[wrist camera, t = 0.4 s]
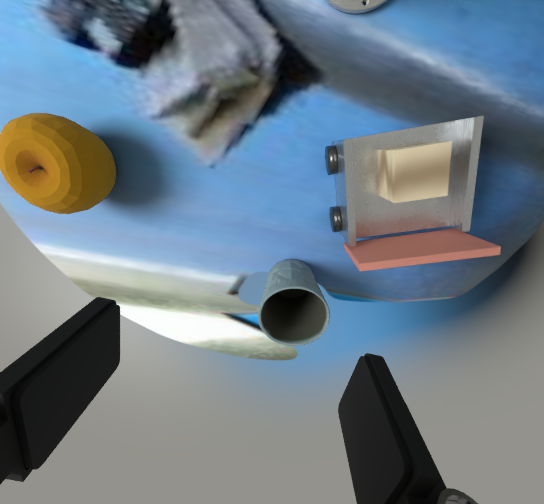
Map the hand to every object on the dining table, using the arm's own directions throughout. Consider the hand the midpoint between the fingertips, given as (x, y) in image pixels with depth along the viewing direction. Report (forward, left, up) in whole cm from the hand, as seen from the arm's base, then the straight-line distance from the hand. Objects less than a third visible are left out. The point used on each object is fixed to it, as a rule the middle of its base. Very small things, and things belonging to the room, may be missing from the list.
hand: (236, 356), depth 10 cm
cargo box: (-2, +18, -30) cm, 35 cm away
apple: (-10, -28, -35) cm, 46 cm away
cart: (0, +18, -35) cm, 39 cm away
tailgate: (+8, +18, -30) cm, 36 cm away
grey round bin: (+15, +1, -35) cm, 38 cm away
